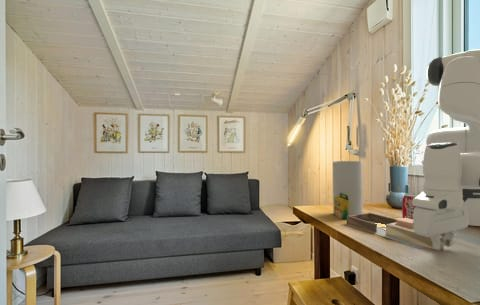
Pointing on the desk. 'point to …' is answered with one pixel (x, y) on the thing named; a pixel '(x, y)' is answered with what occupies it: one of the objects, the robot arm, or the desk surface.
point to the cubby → (363, 219)
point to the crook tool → (410, 236)
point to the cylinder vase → (348, 184)
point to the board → (383, 233)
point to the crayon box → (341, 207)
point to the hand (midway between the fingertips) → (442, 246)
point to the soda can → (408, 205)
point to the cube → (405, 223)
